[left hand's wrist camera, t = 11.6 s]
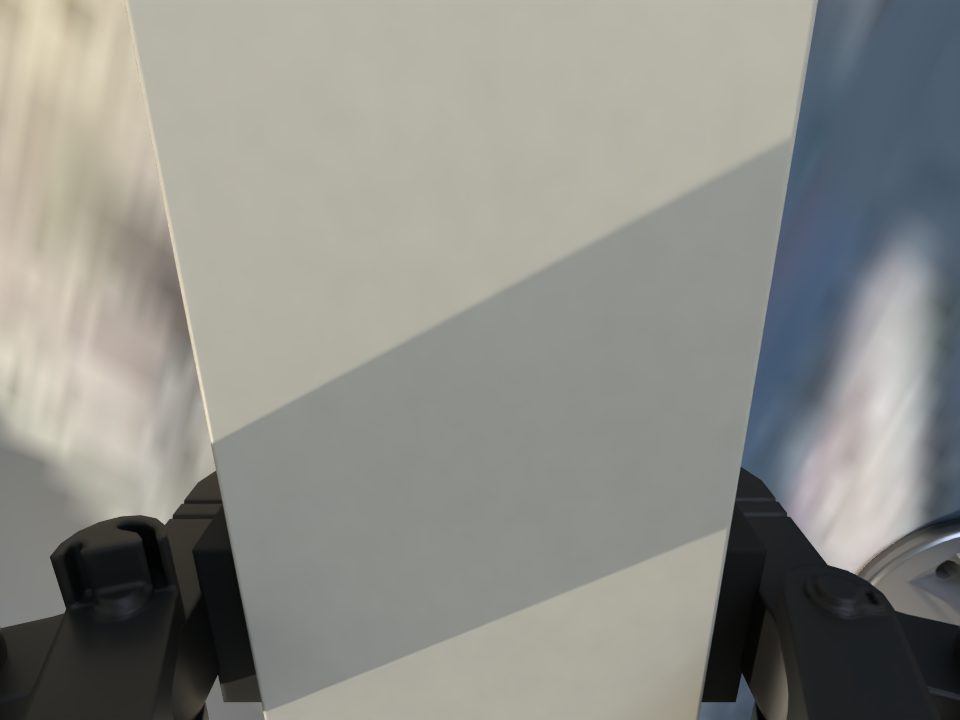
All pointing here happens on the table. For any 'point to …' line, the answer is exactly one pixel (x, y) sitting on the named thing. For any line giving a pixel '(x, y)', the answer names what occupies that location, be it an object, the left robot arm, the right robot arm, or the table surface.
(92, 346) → the table surface
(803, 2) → the beam
